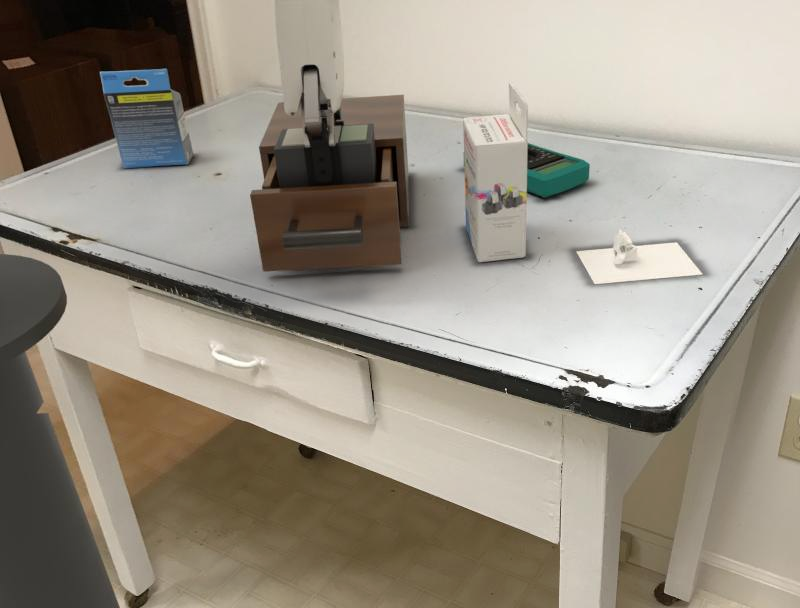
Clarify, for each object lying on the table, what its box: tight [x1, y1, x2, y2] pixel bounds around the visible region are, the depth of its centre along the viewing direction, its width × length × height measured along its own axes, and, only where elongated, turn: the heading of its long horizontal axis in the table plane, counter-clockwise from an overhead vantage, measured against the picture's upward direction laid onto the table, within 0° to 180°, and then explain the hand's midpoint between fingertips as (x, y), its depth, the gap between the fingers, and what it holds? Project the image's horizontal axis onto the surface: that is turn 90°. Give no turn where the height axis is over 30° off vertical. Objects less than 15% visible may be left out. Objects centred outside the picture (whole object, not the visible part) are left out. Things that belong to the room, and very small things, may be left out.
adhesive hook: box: [611, 228, 638, 265], centre depth 80 cm, size 3×3×3 cm
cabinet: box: [258, 94, 410, 228], centre depth 95 cm, size 16×15×10 cm
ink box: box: [462, 81, 529, 263], centre depth 82 cm, size 8×5×15 cm, turn 5°
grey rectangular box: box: [274, 123, 377, 188], centre depth 82 cm, size 9×6×5 cm, turn 90°
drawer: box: [249, 146, 403, 273], centre depth 84 cm, size 19×13×8 cm
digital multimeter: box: [463, 142, 591, 199], centre depth 100 cm, size 7×15×3 cm, turn 36°
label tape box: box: [99, 68, 194, 169], centre depth 110 cm, size 9×4×12 cm, turn 88°
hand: (329, 172), depth 83 cm, fingers closed on grey rectangular box, 6 cm apart
